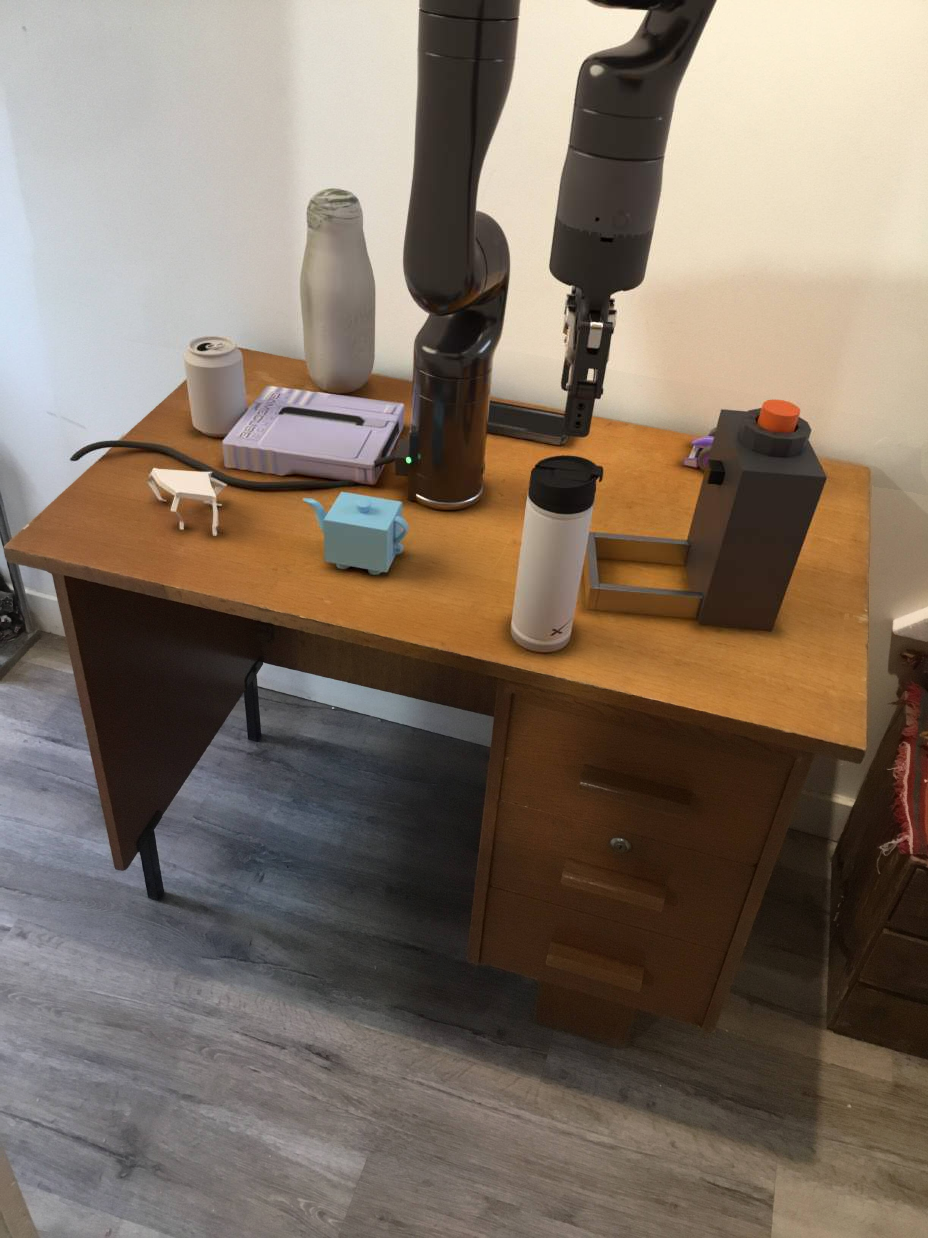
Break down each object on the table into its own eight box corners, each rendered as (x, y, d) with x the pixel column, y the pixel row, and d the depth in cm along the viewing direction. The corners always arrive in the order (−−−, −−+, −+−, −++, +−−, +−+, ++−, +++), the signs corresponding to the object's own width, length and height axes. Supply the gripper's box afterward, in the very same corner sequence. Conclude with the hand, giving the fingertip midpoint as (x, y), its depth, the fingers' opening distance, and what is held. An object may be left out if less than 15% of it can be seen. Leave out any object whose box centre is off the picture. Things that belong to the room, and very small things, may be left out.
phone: (475, 397, 135) (574, 415, 132) (475, 404, 136) (573, 422, 133) (461, 420, 129) (565, 439, 126) (460, 427, 130) (564, 446, 127)
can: (204, 411, 129) (194, 328, 121) (256, 418, 128) (248, 335, 121) (184, 436, 123) (172, 350, 115) (238, 442, 122) (229, 357, 115)
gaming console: (266, 384, 129) (405, 401, 127) (268, 408, 131) (404, 426, 129) (219, 443, 115) (374, 463, 113) (222, 469, 117) (374, 489, 115)
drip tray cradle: (586, 609, 99) (610, 483, 89) (581, 552, 107) (603, 430, 97) (696, 619, 99) (732, 493, 89) (683, 561, 107) (715, 440, 97)
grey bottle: (336, 369, 142) (331, 175, 125) (387, 388, 138) (389, 191, 121) (292, 389, 136) (280, 188, 118) (344, 410, 132) (339, 204, 114)
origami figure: (251, 507, 110) (247, 471, 107) (215, 543, 104) (211, 506, 101) (163, 486, 113) (157, 450, 110) (124, 520, 106) (116, 483, 103)
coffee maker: (697, 625, 98) (748, 450, 85) (682, 556, 108) (725, 390, 95) (772, 631, 98) (834, 458, 85) (749, 562, 108) (802, 397, 95)
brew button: (761, 433, 88) (766, 413, 87) (754, 416, 91) (759, 397, 90) (798, 436, 88) (804, 417, 87) (789, 419, 91) (795, 400, 90)
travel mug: (569, 659, 92) (601, 488, 79) (505, 647, 93) (526, 476, 80) (576, 621, 97) (606, 454, 84) (515, 610, 98) (536, 443, 85)
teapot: (296, 563, 102) (292, 505, 97) (314, 534, 107) (311, 478, 102) (399, 581, 100) (401, 524, 96) (413, 551, 105) (415, 495, 100)
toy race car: (693, 440, 131) (704, 399, 127) (799, 466, 127) (813, 423, 123) (680, 470, 124) (690, 426, 120) (791, 497, 120) (806, 453, 116)
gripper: (555, 185, 74) (531, 373, 84) (557, 238, 63) (529, 446, 73) (646, 194, 74) (611, 381, 84) (665, 248, 63) (622, 455, 73)
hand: (573, 411), depth 79 cm, fingers open, 8 cm apart
